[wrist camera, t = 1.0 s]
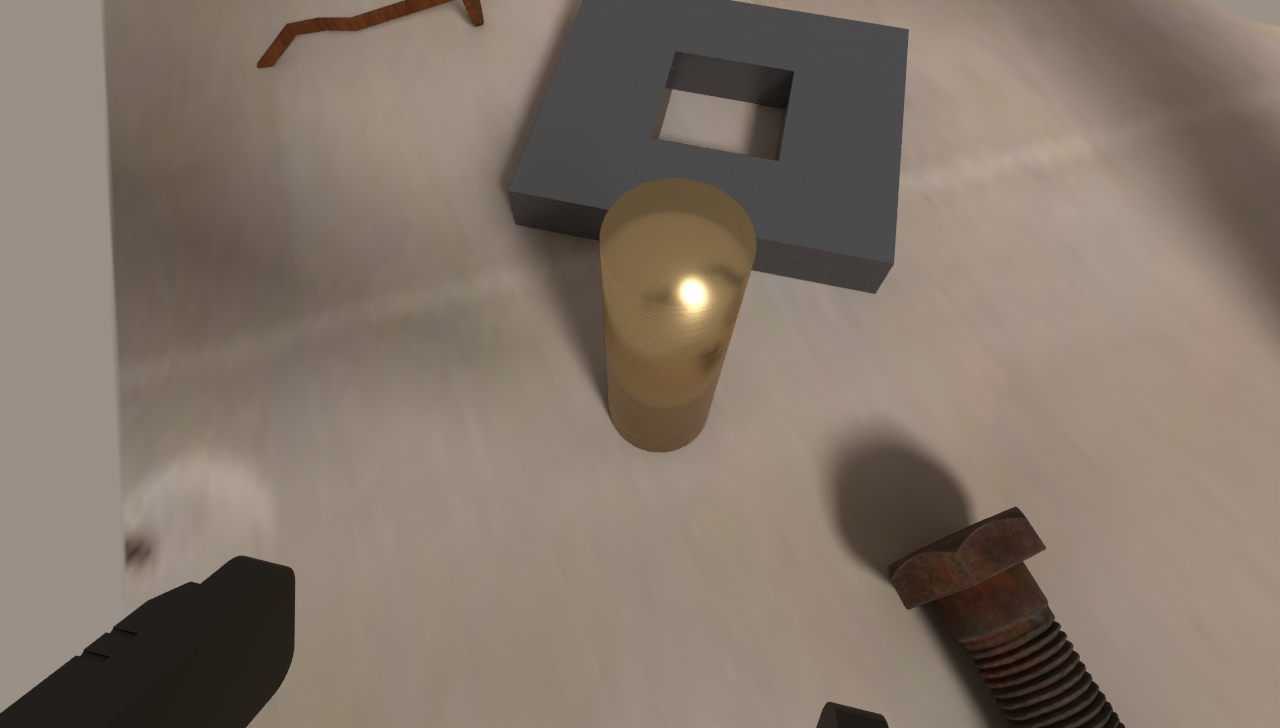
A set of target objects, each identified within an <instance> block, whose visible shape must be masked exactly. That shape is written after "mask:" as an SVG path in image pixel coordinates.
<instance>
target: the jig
mask: <svg viewBox="0 0 1280 728" xmlns="http://www.w3.org/2000/svg"><path fill="white" fill-rule="evenodd" d="M908 33H909V29H903V28H897V27H891V26H885V25H879V24H873V23H867V22H860V21H854V20H848V19H842V18H836V17H830V16H823V15H817V14H811V13H805V12H799V11H793V10H787V9H780V8H774V7H768V6H762V5H756V4H750V3H743V2H737V1H731V0H583V3H582V5H581V8H580V10H579V13H578V15H577V18H576V20H575V23H574V25H573V28H572V30H571V33H570V35H569V38H568V40H567V43H566V46H565V48H564V51H563V53H562V56H561V58H560V61H559V63H558V66H557V68H556V71H555V73H554V76H553V78H552V81H551V84H550V86H549V89H548V91H547V94H546V96H545V99H544V101H543V104H542V106H541V109H540V111H539V114H538V116H537V119H536V121H535V124H534V127H533V129H532V132H531V134H530V137H529V139H528V142H527V144H526V147H525V149H524V152H523V154H522V157H521V159H520V162H519V164H518V167H517V170H516V172H515V175H514V177H513V180H512V182H511V185H510V187H509V190H508V192H509V197H510V201H511V205H512V210H513V214H514V218H515V223H516V224H518V225H523V226H528V227H533V228H538V229H543V230H549V231H554V232H559V233H564V234H569V235H574V236H580V237H585V238H590V239H595V240H600V230H601V226H602V223H603V220H604V218H605V216H606V214H607V212H608V210H609V209H610V208H611V206H612V205H613V204H614V203H615V202H616V201H617V200H618V199H619V198H620V197H621V196H622V195H624V194H625V193H626V192H628V191H629V190H631V189H633V188H635V187H637V186H639V185H641V184H644V183H647V182H650V181H654V180H660V179H668V178H683V179H691V180H696V181H700V182H703V183H706V184H709V185H712V186H714V187H716V188H718V189H720V190H722V191H723V192H725V193H726V194H728V195H729V196H730V197H732V198H733V199H734V200H735V201H736V202H737V203H738V204H739V205H740V206H741V207H742V208H743V209H744V211H745V212H746V213H747V215H748V217H749V218H750V220H751V222H752V225H753V227H754V231H755V235H756V255H755V258H754V262H753V266H752V269H751V270H755V271H760V272H766V273H771V274H776V275H781V276H786V277H791V278H797V279H802V280H807V281H812V282H817V283H822V284H828V285H833V286H838V287H843V288H848V289H853V290H859V291H864V292H869V293H874V294H875V293H876V292H877V290H878V289H879V287H880V285H881V284H882V282H883V281H884V279H885V277H886V276H887V274H888V272H889V271H890V269H891V268H892V266H893V264H894V254H895V238H896V223H897V207H898V191H899V175H900V159H901V144H902V128H903V112H904V96H905V80H906V65H907V49H908ZM672 89H676V90H682V91H688V92H694V93H699V94H705V95H711V96H717V97H722V98H728V99H734V100H740V101H745V102H751V103H757V104H763V105H768V106H774V107H780V108H784V112H783V118H782V124H781V129H780V135H779V141H778V147H777V153H776V158H775V160H769V159H764V158H758V157H753V156H747V155H742V154H736V153H731V152H725V151H719V150H714V149H708V148H703V147H697V146H692V145H686V144H681V143H675V142H670V141H664V140H658V138H659V135H660V131H661V128H662V124H663V120H664V117H665V113H666V110H667V106H668V103H669V99H670V95H671V92H672Z"/></svg>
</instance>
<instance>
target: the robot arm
mask: <svg viewBox="0 0 1280 728" xmlns="http://www.w3.org/2000/svg"><path fill="white" fill-rule="evenodd" d="M294 636H295V575H294V572H293V570H292V569H291V568H290V567H287V566H283V565H279V564H275V563H271V562H267V561H263V560H259V559H255V558H251V557H247V556H237V557H235V558H233V559H231V560H230V561H228V562H227V563H226V564H224V565H223V566H222V567H221V568H220V569H218V570H217V571H216V572H215V573H213V574H212V575H211V576H210V577H208V578H207V579H206V580H205V581H203V582H202V583H201V584H198V583H194V582H188V583H186V584H184V585H181V586H179V587H177V588H175V589H173V590H170V591H168V592H166V593H164V594H162V595H159V596H157V597H155V598H153V599H150V600H148V601H147V602H145V603H144V604H143V605H142V606H140V607H139V608H138V609H136V610H135V611H134V612H132V613H131V614H130V615H128V616H127V617H126V618H125V619H123V620H122V621H121V622H119V623H118V624H117V625H116V626H114V627H113V630H112V631H111V633H105V634H104V635H102V636H101V637H100V638H98V639H97V640H96V641H95V642H93V643H92V644H91V645H89V646H88V647H87V648H85V649H84V652H83V653H82V655H81V656H75V657H73V658H72V659H71V660H70V661H68V662H67V663H66V664H64V665H63V666H62V667H60V668H59V669H58V670H57V671H55V672H54V673H53V674H51V675H50V676H49V677H47V679H45V680H43V681H42V682H41V683H40V684H38V685H37V686H36V687H34V688H33V689H32V690H31V691H29V692H28V693H26V694H25V695H24V696H22V697H21V698H20V699H19V700H17V701H16V702H15V703H13V704H12V705H11V706H9V707H8V708H7V709H5V710H4V711H3V712H2V713H0V728H246V727H247V726H248V724H249V723H250V722H251V721H252V720H253V719H254V717H255V716H256V715H257V714H258V713H259V712H260V710H261V709H262V708H263V707H264V706H265V704H266V703H267V702H268V701H269V700H270V699H271V697H272V696H273V695H274V694H275V692H276V691H277V690H278V688H279V687H280V685H281V684H282V682H283V680H284V678H285V676H286V674H287V672H288V670H289V667H290V664H291V661H292V658H293V653H294ZM816 728H888V724H887V722H886V719H885V718H884V716H883V715H881V714H877V713H873V712H869V711H865V710H861V709H857V708H853V707H849V706H845V705H841V704H837V703H833V702H828V703H826V705H825V706H824V708H823V710H822V713H821V716H820V718H819V721H818V724H817V727H816Z"/></svg>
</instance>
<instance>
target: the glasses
mask: <svg viewBox="0 0 1280 728" xmlns="http://www.w3.org/2000/svg"><path fill="white" fill-rule="evenodd" d="M449 1H452V0H405V1H401V2H398V3H395V4H392V5H389V6H386V7H383V8H379V9H376V10H373V11H370V12H367V13H364V14H361V15H358V16H354V17H351V18H314V19H309V20H304V21H299V22H294V23H289V24H286V26H285V27H284V28H283V30H282V31H281V32H280V34H279V35H278V36H277V38H276V39H275V40H274V42H273V43H272V44H271V46H270V47H269V48H268V50H267V51H266V52H265V54H264V55H263V56H262V58H261V59H260V60H259V61H258V63H257V67H258V68H265V67H272V66H273V65H274V64H275V62H276V61H277V60H278V59H279V57H280V56H281V55H282V53H283V52H284V51H285V49H286V48H287V47H288V46H289V44H290V43H291V42H292V40H293V39H294V38H295V36H296V35H299V34H306V33H312V32H319V31H325V30H335V31H358V30H361V29H364V28H367V27H370V26H374V25H377V24H380V23H383V22H386V21H389V20H392V19H396V18H399V17H402V16H405V15H408V14H411V13H415V12H418V11H421V10H424V9H427V8H430V7H433V6H437V5H440V4H443V3H446V2H449ZM462 1H463V3H464V5H465V8H466V10H467V12H468V14H469V16H470V18H471V20H472V21H473V23H474V24H475V25H476V26H480V25H483V23H484V20H483V14H482V8H481V4H480V0H472V2H471V0H462ZM472 3H473V4H472Z"/></svg>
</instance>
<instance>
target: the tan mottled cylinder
mask: <svg viewBox="0 0 1280 728" xmlns="http://www.w3.org/2000/svg"><path fill="white" fill-rule="evenodd" d="M755 255H756V235H755V231H754V227H753V225H752V222H751V220H750V218H749V217H748V215H747V213H746V212H745V211H744V209H743V208H742V207H741V206H740V205H739V204H738V203H737V202H736V201H735V200H734V199H733V198H732V197H730V196H729V195H728V194H726V193H725V192H723V191H722V190H720V189H718V188H716V187H714V186H712V185H709V184H706V183H703V182H700V181H696V180H691V179H683V178H668V179H660V180H654V181H650V182H647V183H644V184H641V185H639V186H637V187H635V188H633V189H631V190H629V191H628V192H626V193H625V194H624V195H622V196H621V197H620V198H619V199H618V200H617V201H616V202H615V203H614V204H613V205H612V206H611V208H610V209H609V210H608V212H607V214H606V216H605V218H604V220H603V223H602V226H601V230H600V258H601V276H602V294H603V313H604V331H605V349H606V367H607V385H608V403H609V413H610V417H611V420H612V423H613V425H614V427H615V429H616V430H617V431H618V433H619V434H620V435H621V436H622V437H623V438H624V439H625V440H626V441H627V442H629V443H630V444H632V445H633V446H635V447H637V448H640V449H642V450H646V451H650V452H669V451H674V450H677V449H680V448H682V447H684V446H686V445H687V444H689V443H690V442H692V441H693V440H694V439H695V438H696V437H697V436H698V435H699V433H700V432H701V431H702V429H703V427H704V425H705V423H706V420H707V417H708V413H709V410H710V407H711V403H712V400H713V397H714V393H715V390H716V387H717V383H718V380H719V376H720V373H721V370H722V366H723V363H724V360H725V356H726V353H727V350H728V346H729V343H730V340H731V336H732V333H733V329H734V326H735V323H736V319H737V316H738V313H739V309H740V306H741V303H742V299H743V296H744V293H745V289H746V286H747V282H748V279H749V276H750V272H751V269H752V266H753V262H754V258H755Z"/></svg>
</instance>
